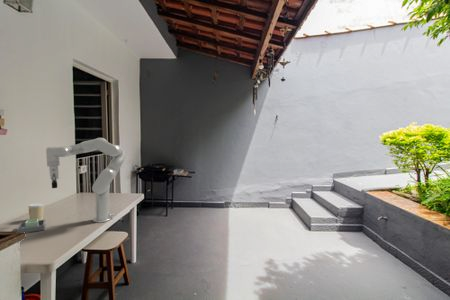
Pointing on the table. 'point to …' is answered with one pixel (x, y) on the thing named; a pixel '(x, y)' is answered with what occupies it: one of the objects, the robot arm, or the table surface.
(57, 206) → the table surface
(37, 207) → the coffee cup
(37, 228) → the large crate
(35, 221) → the box
